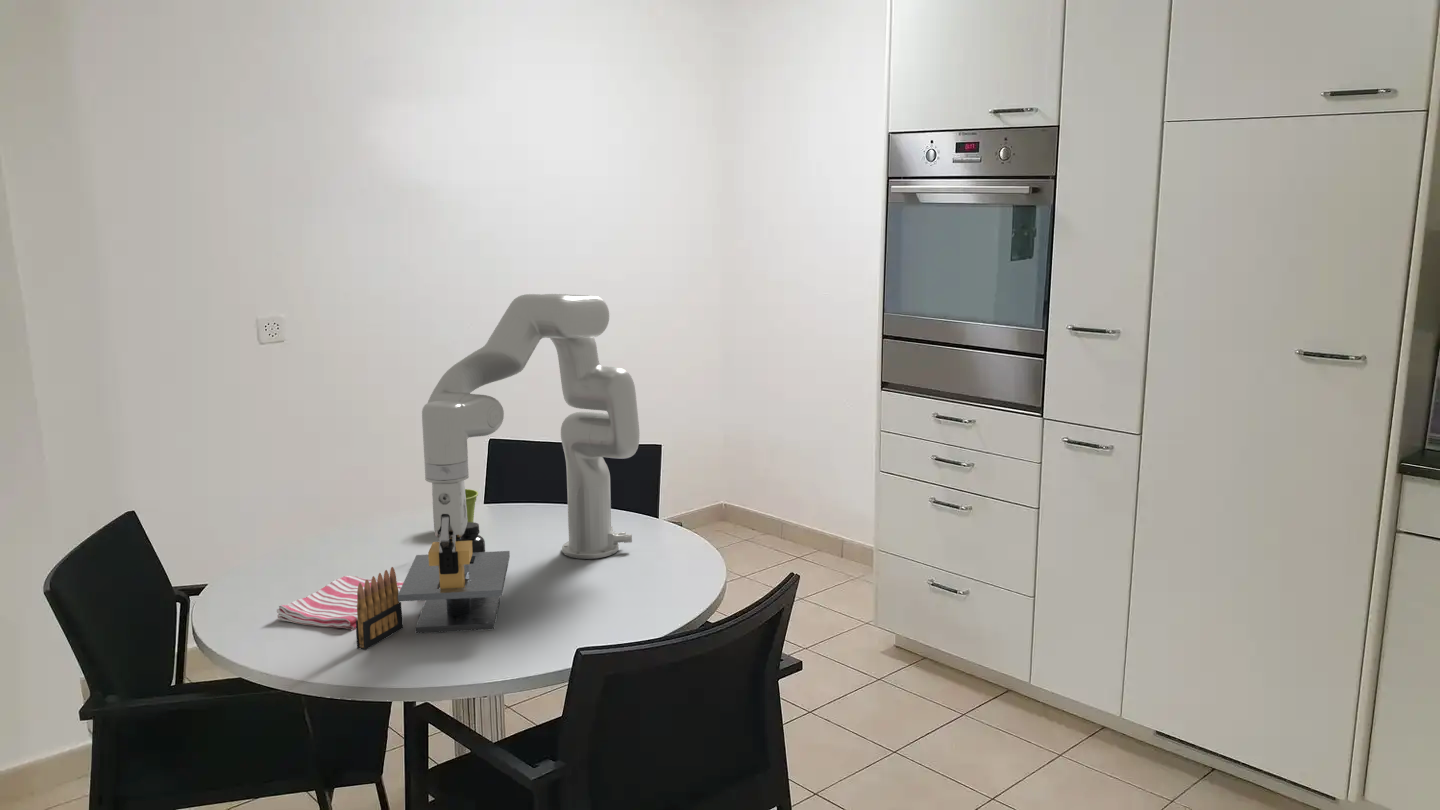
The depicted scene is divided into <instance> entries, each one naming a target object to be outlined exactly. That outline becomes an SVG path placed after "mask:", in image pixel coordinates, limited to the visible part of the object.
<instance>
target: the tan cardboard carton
mask: <svg viewBox="0 0 1440 810" xmlns="http://www.w3.org/2000/svg"><path fill="white" fill-rule="evenodd" d="M451 542H452V541H451ZM456 551H458V569H459V571H458V573H457V574H440V566H439V541H433V542H431V546H430V548H429V550H428V554H427V555H428V556H429V566H439V579H440V588H439V589H445V588H465V576H464V564H470V561H471V557H472V554H473V551H472V541H456Z"/></svg>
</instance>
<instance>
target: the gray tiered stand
mask: <svg viewBox="0 0 1440 810" xmlns="http://www.w3.org/2000/svg"><path fill="white" fill-rule="evenodd" d="M510 554H511V553H510V550H501V551H500V550H499V551H485V552H473V554H472V557H471V561H470V562H474V563H473V564H464V576H465V588H445V589H440V579H439V566H429V556H428V554H416V555H415V557H414V560H413V561H412V564H411V566H410V568H409V570H408V572H407V574H406V576H405V579H404V581H403V582H404V583H403V585H402V587H401V589H400V591H399V594H398V602H399V601H400V602H413V601H414V602H415V601H417V602H419V601H424V604H423V607H422V609H421V612H420V615H419V616H418V619H417V622H416V625H415V628H414V629H415V634H416V635H418V634H434V633H453V632H470V631H471V632H472V631H473V632H474V631H491V630H495V627H496V622H497V617H498V613H499V607H500V602H501V601H500V600H501V599H500V597H503V592H504V588H505V583H506V577H507V573H508V572H507V571H508V568H509V561H510V556H511V555H510Z"/></svg>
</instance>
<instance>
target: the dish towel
mask: <svg viewBox="0 0 1440 810" xmlns="http://www.w3.org/2000/svg"><path fill="white" fill-rule="evenodd" d="M366 579H367V580H368V581H369V584H370V588H371V580H372V578H363V577H359V576H354V575H344V576H341V577H339V578H336V579H335V580H334V579H333V580H332V581H330V582H329V583H327V584H326V585H325V586H324V587H322V588H320V589H318V590H317V591H315V592H312V593H311V594H308V595H306V597H303V598H302V597H301V598H299V599H296V600H292V601H291V602H289V603H287V604H279V605H278V608H277V609H276V614H277V613H278V614H277V619H278V620H279V621H282V622H290V623H295V624H299V625H304V626H316V627H321V628H322V627H323V628H339V629H340V628H341V629H349V630H352V631H354V630H355V629H356V621H357V620H358V617H357V590H358V585H359V583H361V584H362V586H363V590H364V585H365V581H366ZM396 581H397V580H396ZM376 582H377V579H376ZM403 583H404V581H399V580H398V581H397V586H398V592H399V591H400V589H401V587H402V585H403ZM399 602H401V601H399Z"/></svg>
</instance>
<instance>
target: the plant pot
mask: <svg viewBox="0 0 1440 810" xmlns="http://www.w3.org/2000/svg"><path fill="white" fill-rule="evenodd" d="M465 494H466V507H467V519H468V522H474V517H475V507H476V502H477V497H478V496H479V492H478V491H477V490H475V489H471V488H470V489H469V488H465Z"/></svg>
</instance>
